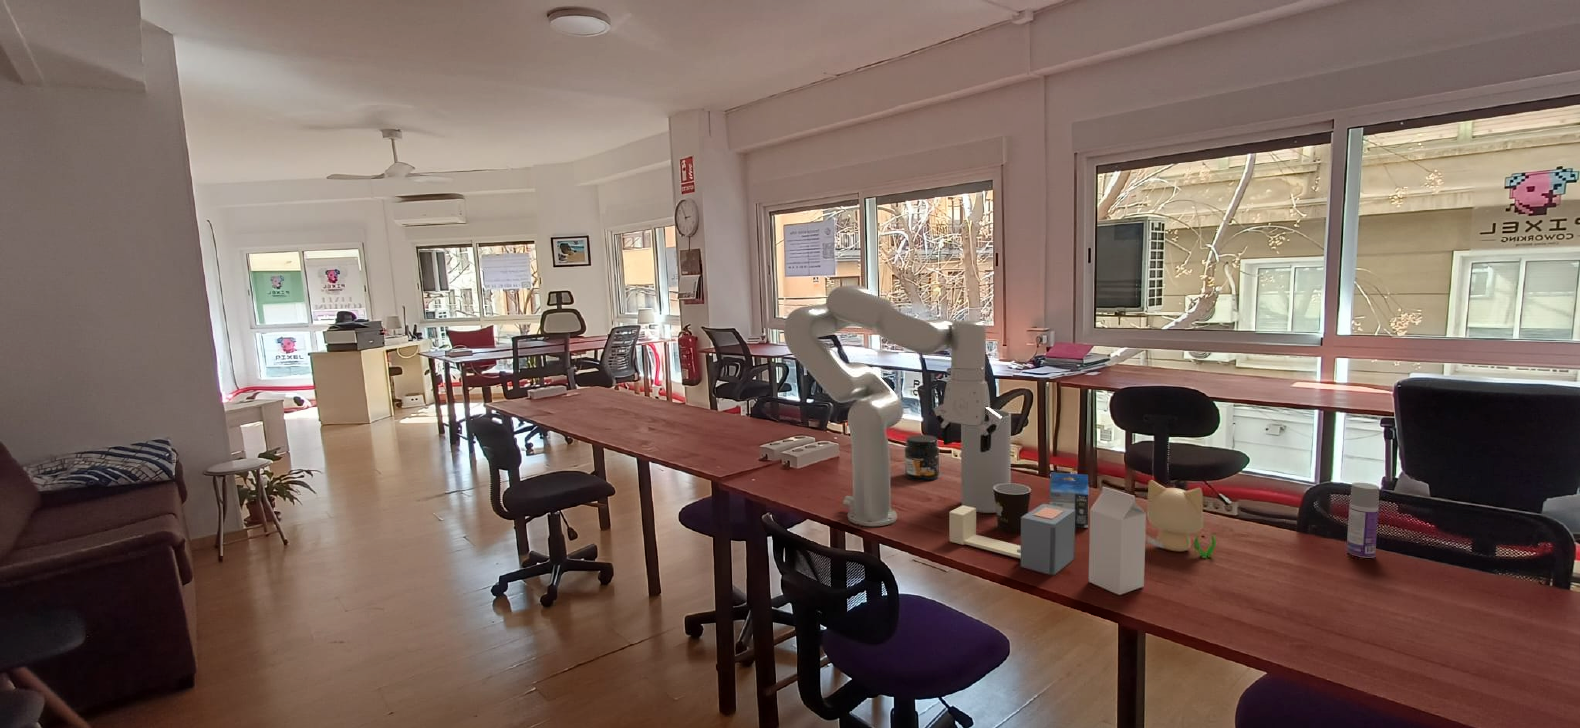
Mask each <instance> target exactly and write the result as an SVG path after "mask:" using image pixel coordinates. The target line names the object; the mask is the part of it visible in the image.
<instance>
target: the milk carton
mask: <svg viewBox="0 0 1580 728" xmlns="http://www.w3.org/2000/svg"><path fill="white" fill-rule="evenodd" d="M1146 523H1147V511H1144V509H1143V508H1142V507H1141V506H1140V505H1139V504H1138V502H1136V496H1135V495H1132V494H1129V493H1126V492H1122V491H1120V490H1116V489H1113V488H1109V487H1105V486H1102V489H1101V493H1100V494H1099V496H1098V497H1097V498H1096V500H1095V502H1094V503H1093V505H1092V506H1091V507H1090V509H1089V539H1088V540H1089V541H1088V542H1089V543H1088V544H1089V549H1088V550H1089V551H1088V553H1089V554H1088V582H1089V583H1091V584H1093V585H1095V586H1097V587H1100V588H1102V589H1105V590H1107V591H1109V592H1111V593H1114V594H1116V595H1119V596H1121V595H1124V594H1126V593H1129V592H1131V591H1135V590H1138V589H1140V588H1143V587H1144V586H1145V565H1146V564H1145V558H1146V556H1145V555H1146V554H1145V553H1146V541H1145V532H1146V530H1147V528H1146V526H1147V525H1146Z"/></svg>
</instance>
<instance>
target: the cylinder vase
mask: <svg viewBox="0 0 1580 728" xmlns="http://www.w3.org/2000/svg"><path fill="white" fill-rule="evenodd" d="M991 409H992V408H991ZM992 410H993V411H995V412H996V413H997V414H999V415H1000V416H1002V418H1003V419H1002V421H1001V423H1000V425H999V427H998V428H997V429H996V430H995V431H994V432H993V433H992V434H991V447H990V450H989V451H986V452H981V451H980V440H981V435H983V433H982V431H981V430H980V428H979V427H978V426H968V425H961V424H960V426H961V427H960V432H961V433H960V434H961V436H960V440H961V441H960V447H961V448H960V450H961V451H960V452H961V453H960V457H961V459H960V460H961V463H960V464H961V466H960V469H961V470H960V473H961V475H960V477H961V478H960V481H961V483H960V484H961V488H960V489H961V504H962V505H964V506H968V507H973V508H976V513H984V514H994V513H996V505H995V497H994V489H993V487H994V486H995V485H998V484H1005V483H1011V472H1012V471H1011V470H1012V469H1011V466H1012V465H1011V464H1012V463H1011V457H1012V454H1011V451H1012V449H1011V448H1012V446H1011V445H1012V443H1011V441H1012V439H1011V438H1012V437H1011V435H1012V427H1011V426H1012V414H1011V412H1009V411H1006V410H1001V409H995V408H993V409H992ZM992 423H993V419H992V418H991V417H990V420H989V424H990V425H992ZM962 505H961V506H962Z"/></svg>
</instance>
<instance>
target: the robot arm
mask: <svg viewBox="0 0 1580 728" xmlns="http://www.w3.org/2000/svg"><path fill="white" fill-rule="evenodd" d="M851 325H854V326H857V327H860V328H862V329H865V330H868V331H871V332H874V333H877V334H878V335H880V337H882V338H883V339H885V340H887V341H888V342H890V343H892V344H894V345H895V346H899V347H901V348H903V349H906V350H909V351H912V352H916V353H919V354H924V355H930V354H935V353H938V352H941V351H946V350H947V351H948V350H950V351H951V353H950V354H951V356H950V358H951V359H950V361H951V362H950V367H948V368H947V369H946V373H947V374H949V375H950V379H947V381H946V386H945V390H944V396H943V397H944V398H943V403H942V404H940V405H937V406H935V407H933V411H934V414H935V416H936V420H937V422H938V423H939V424H940V427H941V428H942V440H943V446H948V445H950V444H952V443H954V426H952V425H953V424H956V425H960V426H961V425H968V426H978V427H979V428H980V430H981V431H982V433H983V435H981V440H980V451H981V452H986V451H989V450H990V447H991V434H992V433H993V432H994V431H995V430H996V429H997V428H998V427H999V425H1000V423H1001V421H1002V419H1003V418H1002V416H1000V415H999V414H997V413H996V412H995V411H993V410H992V408H991V399H990V390H989V386H988V385H989V384H988V381H986V379H985V377H986V373H985V372H986V368H985V367H986V344H987V343H986V339H987V338H986V334H987V333H986V332H987V330H986V327H987V326H986V325H985V323H984V322H982V321H978V320H953V319H948V318H935V319H929V320H923V319H919V318H917V317H914V316H910V315H908V314H905V313H903V312H901V311H899V310H897V309H896V307H895V304H894V302H892V300H889V299H887V298H884V297H880V296H878V295H874V294H873V293H872V292H871V290H869V289H868V288H866V287H865V286H863V285H858V284H857V285H856V284H854V285H840V286H838V287H836V288H834V289H832V290H831V291H830V293H829V294H828V295H827V297H826V302H825V303H823V304H816V305H808V306H806V305H805V306H801V307H798V308H795V309H794V310H792V311H791V312H789V314H788V315H787V316H786V318H785V321H784V324H783V337H784V342H785V344H786V347H787V349H788V350H789V352H790V353H791V355H792V356H793V357H794V358H795V359H796V360H797V361H798V362H799V363H800V364H801V365H802V366H803V367H804V368H805V369H806V370H807V372H808V373H809V374H810V376H812V378H813V379H814V380H815V381H816V382H817V383H818V385H819V386H820V387H821V389H823V390H824V391H825V392H826V393H827V395H828V396H829V397H830V398H831V399H832V400H833V401H835V402H837V403H840V404H841V403H842V404H843V403H844V404H845V403H848V402H852V401H855V400H856V401H855V402H853V403H852V405H851V406H850V408H849V410H848V413H847V424H848V430H849V434H850V441H851V461H852V496H850V495H846V496H845V497H844V500H843V501H842V505H843V506H846V507H849V511H848V512H847V519H848V521H849V522H851V523H853V524H855V525H858V524H859V526H862V525H863V526H862V527H881V526H887V525H888V526H889V525H890V524H893V523H895V522H896V520H897V519H898V514H897V512H896V511H895V510H893V509H892V508H891V507H892V505H891V501H892V499H891V457H890V456H891V454H890V453H891V450H890V444H889V440H888V437H887V432H886V430H887V429H890V428H891V427H893V426H895V425H897V424H898V423H900V421H901V420H902V418H903V415H904V407H903V406H904V405H903V403H902V401H901V399H900V397H899V396H898V394H896V392H895V391H894V390H893V389H892V388H891V387H890V386H889V385H888V383H886V381H884V379H883V378H881V376H880V375H879V374H878V373H877V372H876V371H875V370H874V369H873V368H872V367H871V366H869V365H867V364H866V363H864V362H856V361H855V362H849V363H847V362H845V361H844V360H843V359H841V358H840V356H839V355H838V354H837V353H836V352H835V351H834V350H833V349H832V348H831V347H830V346H829V345H827V344H826V343H825V342H823V341H821V340H820V339H819V338H821V337H826V336H831V335H834V334H835V333H837V332H839V331H841V330H844V329H845V328H847V327H849V326H851ZM990 417H991V418H992V419H993V423H992V425H990V424H989V420H990Z"/></svg>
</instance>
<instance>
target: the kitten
mask: <svg viewBox="0 0 1580 728" xmlns="http://www.w3.org/2000/svg"><path fill="white" fill-rule="evenodd" d="M1147 488H1148V489H1147V490H1148V492H1147V508H1146V518H1147V519H1148V521H1149V523H1150V524H1151V525H1152V526H1154V527H1156V528H1157V529H1159V530H1160V532H1159V533H1158V534H1157V537H1156V539H1155V538H1154V537H1151V536H1150V535H1148V534H1147V533H1146V532H1145V542H1147V543H1149V544H1150V545H1152V546H1155V547H1158V548H1161V549H1165V550H1168V551H1170V552H1171V551H1172V552H1185V551H1188V550H1189V549H1190V548H1191V546H1192V540H1191V537H1190V535H1189V534H1195V533H1197V532H1200V530H1201V529H1202V528H1203V525H1204V521H1205V518H1204V513H1203V509H1204V506H1203V505H1204V504H1203V495H1204V494H1203V491H1202V488H1201V487H1197V488H1193V489H1189V490H1184V489H1181V488H1178V487H1177V488H1176V487H1165V486H1163V485H1161V484H1159V483H1158V482H1156V481H1155V480H1153V479H1151V480H1149V481H1148V484H1147ZM1210 537H1211V544H1210V545H1209V547H1208V548H1207V550H1206V552H1205V551H1204V550H1203V549H1202V548H1201V547H1200V544H1199V535H1197V536H1196V537H1195V539H1194V542H1193V543H1194V544H1193V545H1194V548H1195V550H1196V551H1197V552H1198V553H1199V556H1200V555H1201V556H1202V557H1201V558H1202V559H1207V558H1209V557H1211V558H1212V556H1211V554H1212V553H1213V551H1214V549H1215V547H1216V544H1217V541H1216V538H1215V536H1214V535H1213V534H1212V533H1211V536H1210ZM1212 555H1213V554H1212ZM1207 556H1209V557H1207Z"/></svg>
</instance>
